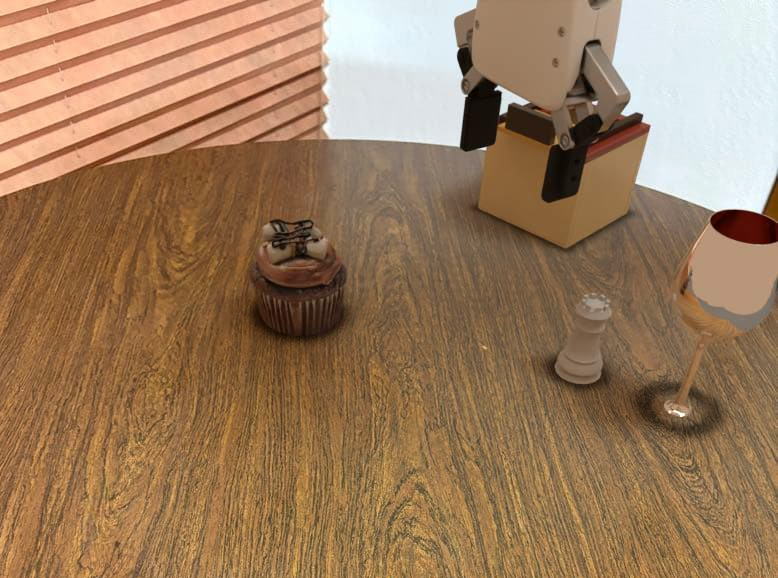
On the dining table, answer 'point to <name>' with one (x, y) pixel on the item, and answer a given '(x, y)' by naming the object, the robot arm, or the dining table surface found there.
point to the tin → (573, 214)
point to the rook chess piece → (585, 342)
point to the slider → (529, 126)
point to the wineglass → (724, 284)
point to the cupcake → (298, 279)
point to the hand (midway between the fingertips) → (516, 171)
